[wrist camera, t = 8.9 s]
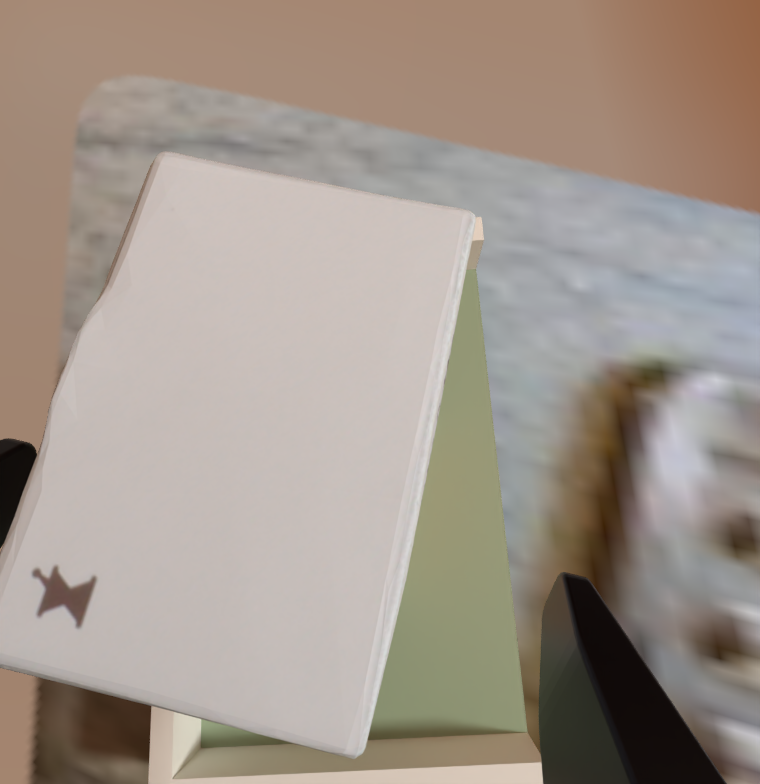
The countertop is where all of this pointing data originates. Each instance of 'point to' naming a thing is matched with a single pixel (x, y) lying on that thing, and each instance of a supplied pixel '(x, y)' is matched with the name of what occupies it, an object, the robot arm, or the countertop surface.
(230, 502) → the skincare box
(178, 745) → the pad
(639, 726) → the robot arm
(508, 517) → the countertop surface
